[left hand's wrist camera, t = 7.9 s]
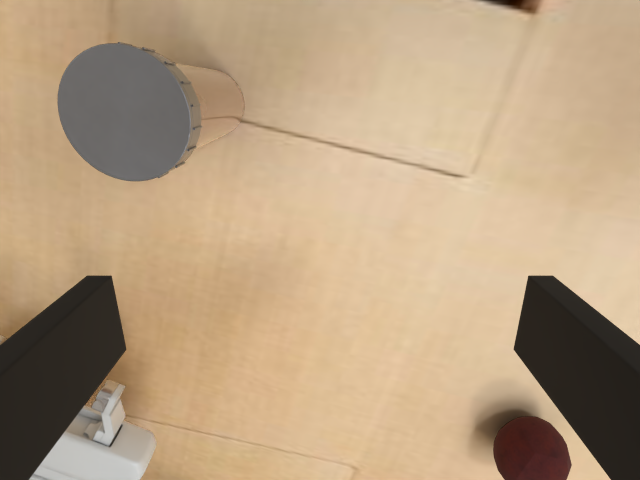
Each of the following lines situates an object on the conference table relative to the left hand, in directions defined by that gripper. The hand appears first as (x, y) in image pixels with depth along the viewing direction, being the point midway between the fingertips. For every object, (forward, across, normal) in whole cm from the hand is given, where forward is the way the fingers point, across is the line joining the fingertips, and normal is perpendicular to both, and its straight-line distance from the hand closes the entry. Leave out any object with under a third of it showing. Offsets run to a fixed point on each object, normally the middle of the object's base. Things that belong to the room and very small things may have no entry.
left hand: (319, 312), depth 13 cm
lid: (+9, +9, -6) cm, 14 cm away
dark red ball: (+24, -22, +30) cm, 44 cm away
